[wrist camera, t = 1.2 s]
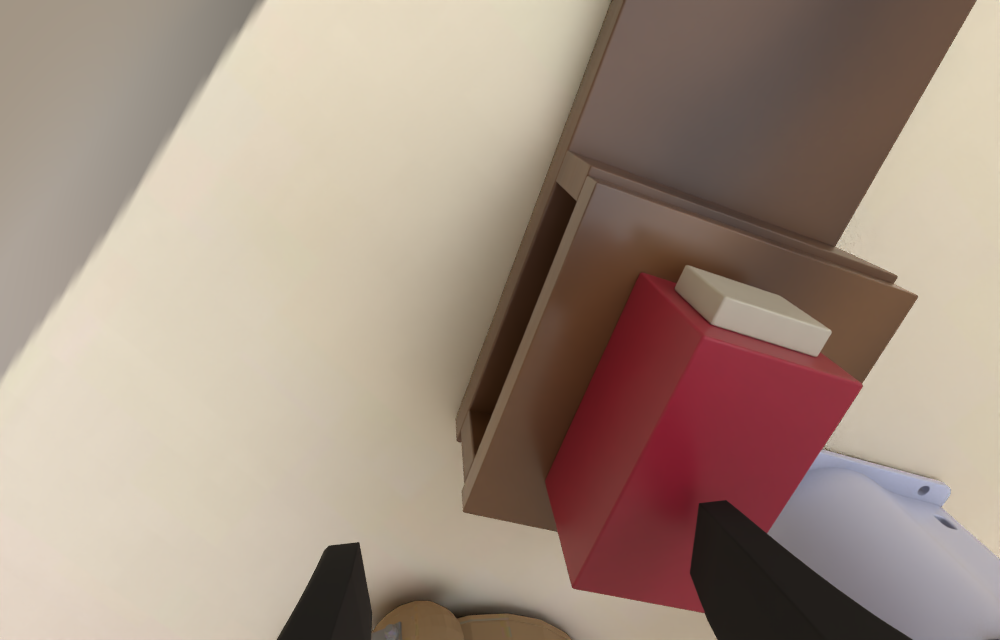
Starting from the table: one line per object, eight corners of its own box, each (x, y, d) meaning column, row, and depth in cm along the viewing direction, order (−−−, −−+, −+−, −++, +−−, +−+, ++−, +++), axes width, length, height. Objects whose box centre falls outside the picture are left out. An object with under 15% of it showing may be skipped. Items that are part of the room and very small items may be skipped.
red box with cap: (781, 289, 16) (884, 356, 12) (650, 524, 19) (702, 635, 15) (651, 246, 15) (719, 304, 11) (535, 499, 18) (560, 610, 14)
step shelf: (979, -70, 18) (1190, -121, 13) (678, 473, 25) (738, 575, 20) (694, -224, 16) (815, -359, 11) (454, 419, 23) (459, 519, 18)
